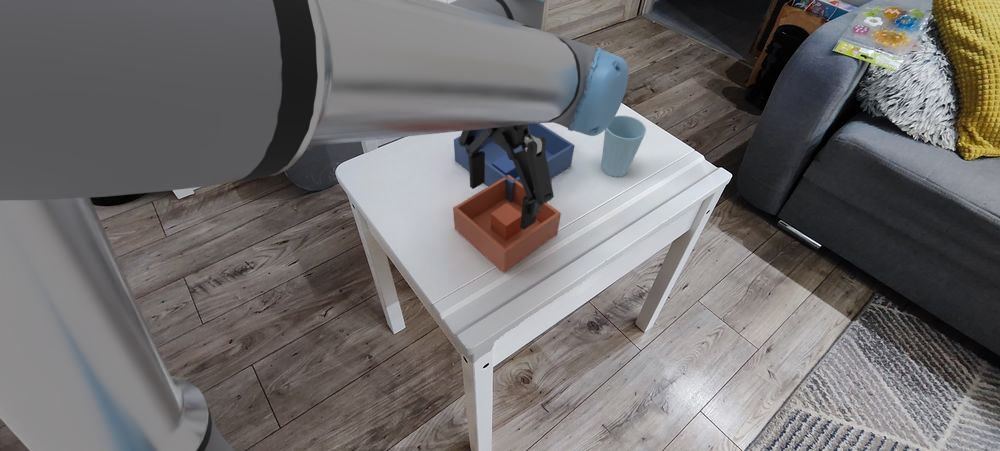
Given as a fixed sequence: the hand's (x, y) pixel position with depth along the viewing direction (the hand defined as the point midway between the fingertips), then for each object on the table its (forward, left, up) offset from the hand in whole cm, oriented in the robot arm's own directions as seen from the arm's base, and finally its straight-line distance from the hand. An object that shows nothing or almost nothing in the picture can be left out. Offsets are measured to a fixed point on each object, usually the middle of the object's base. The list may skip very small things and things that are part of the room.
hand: (501, 204), depth 77 cm
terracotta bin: (+1, 0, -7) cm, 7 cm away
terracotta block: (+1, 0, -7) cm, 7 cm away
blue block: (+10, +10, -7) cm, 16 cm away
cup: (+30, -2, -8) cm, 31 cm away
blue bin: (+15, +13, -7) cm, 21 cm away
